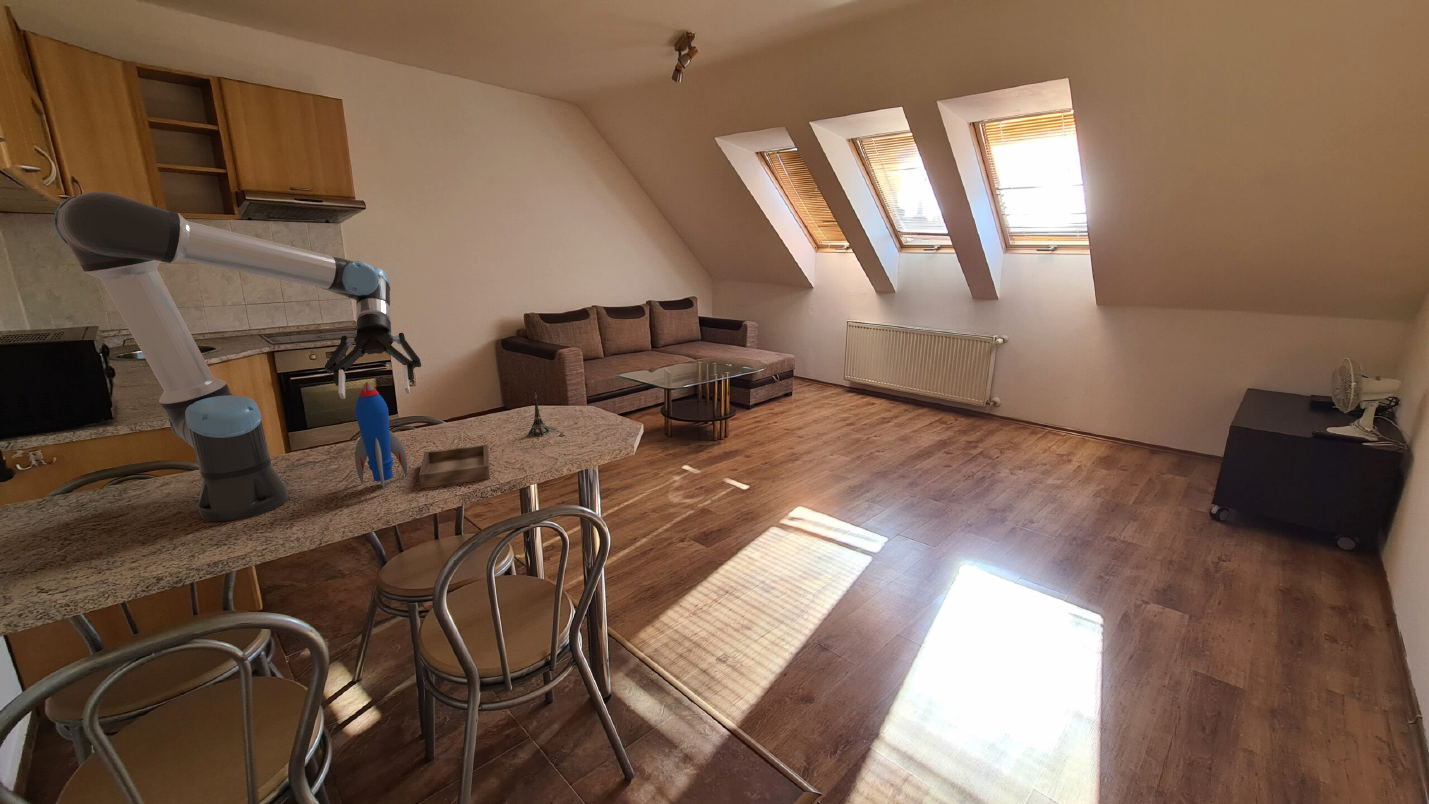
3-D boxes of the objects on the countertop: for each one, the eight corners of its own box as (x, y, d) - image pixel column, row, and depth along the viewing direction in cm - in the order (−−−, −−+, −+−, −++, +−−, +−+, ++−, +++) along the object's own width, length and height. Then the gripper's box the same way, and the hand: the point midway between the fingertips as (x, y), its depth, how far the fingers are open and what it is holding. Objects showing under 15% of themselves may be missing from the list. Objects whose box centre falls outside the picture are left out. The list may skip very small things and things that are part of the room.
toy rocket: (385, 494, 131) (367, 387, 124) (343, 494, 131) (322, 387, 124) (410, 475, 141) (394, 376, 134) (371, 475, 141) (353, 375, 135)
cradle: (420, 488, 134) (418, 475, 133) (426, 463, 148) (424, 451, 148) (489, 478, 139) (488, 465, 139) (488, 456, 154) (487, 444, 153)
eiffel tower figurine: (567, 438, 169) (563, 394, 165) (533, 445, 163) (528, 400, 159) (547, 425, 180) (544, 383, 177) (515, 431, 175) (510, 388, 171)
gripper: (430, 327, 154) (434, 395, 145) (320, 332, 145) (318, 406, 136) (426, 309, 148) (430, 380, 139) (311, 314, 139) (308, 390, 130)
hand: (375, 393), depth 138 cm, fingers open, 13 cm apart
